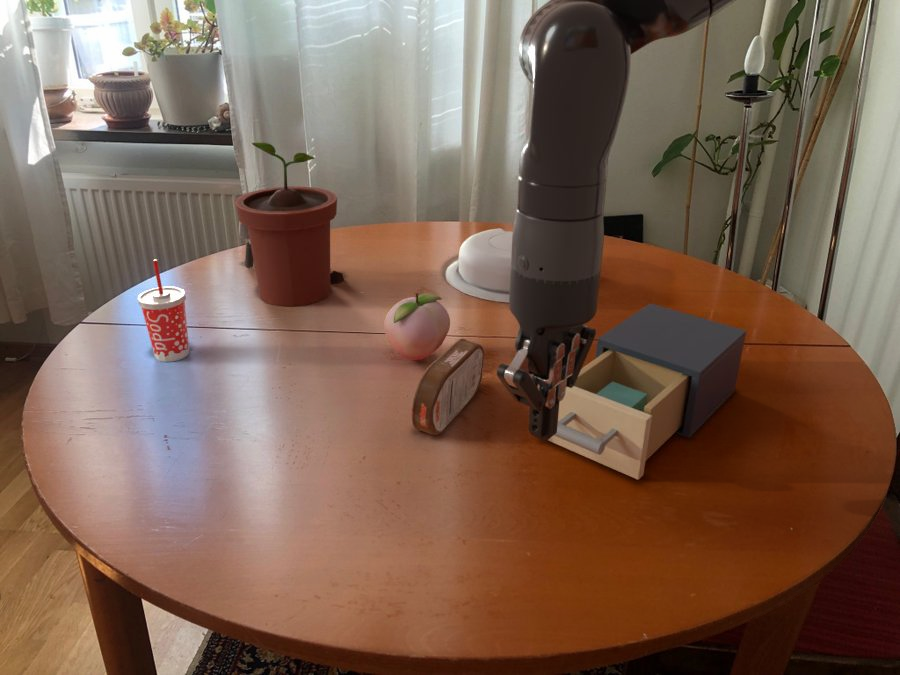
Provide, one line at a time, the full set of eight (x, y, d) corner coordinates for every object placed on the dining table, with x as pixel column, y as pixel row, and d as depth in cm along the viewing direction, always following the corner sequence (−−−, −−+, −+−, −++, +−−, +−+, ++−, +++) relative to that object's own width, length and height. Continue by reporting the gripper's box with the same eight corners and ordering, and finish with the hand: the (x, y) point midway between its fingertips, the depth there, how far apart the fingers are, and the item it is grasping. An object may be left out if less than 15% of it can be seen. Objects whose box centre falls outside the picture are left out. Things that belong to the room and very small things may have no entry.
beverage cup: (139, 358, 102) (119, 263, 96) (171, 341, 107) (155, 249, 101) (172, 368, 100) (154, 271, 94) (204, 349, 105) (189, 256, 99)
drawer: (618, 500, 74) (626, 438, 71) (523, 456, 81) (527, 397, 77) (689, 429, 86) (699, 373, 82) (600, 395, 92) (606, 343, 89)
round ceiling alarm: (416, 277, 130) (415, 244, 127) (501, 242, 147) (502, 212, 144) (533, 316, 115) (535, 279, 113) (613, 272, 133) (617, 239, 130)
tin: (465, 385, 96) (466, 326, 93) (487, 390, 95) (489, 331, 91) (409, 444, 84) (407, 379, 80) (434, 451, 83) (433, 385, 79)
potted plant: (231, 315, 116) (208, 154, 104) (245, 265, 135) (227, 125, 124) (345, 309, 118) (335, 150, 107) (343, 261, 137) (335, 123, 126)
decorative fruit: (409, 339, 108) (408, 275, 104) (458, 352, 104) (459, 287, 100) (372, 366, 101) (368, 298, 96) (423, 381, 97) (422, 311, 93)
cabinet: (687, 443, 85) (700, 372, 81) (590, 405, 92) (597, 338, 88) (733, 396, 94) (746, 330, 90) (641, 365, 101) (650, 303, 97)
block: (642, 427, 84) (647, 393, 82) (624, 444, 81) (628, 410, 79) (608, 413, 86) (612, 381, 84) (589, 429, 83) (592, 396, 81)
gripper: (550, 296, 55) (536, 483, 63) (633, 251, 64) (612, 419, 72) (471, 272, 60) (467, 450, 67) (560, 233, 69) (547, 394, 76)
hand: (542, 434), depth 70 cm, fingers closed
